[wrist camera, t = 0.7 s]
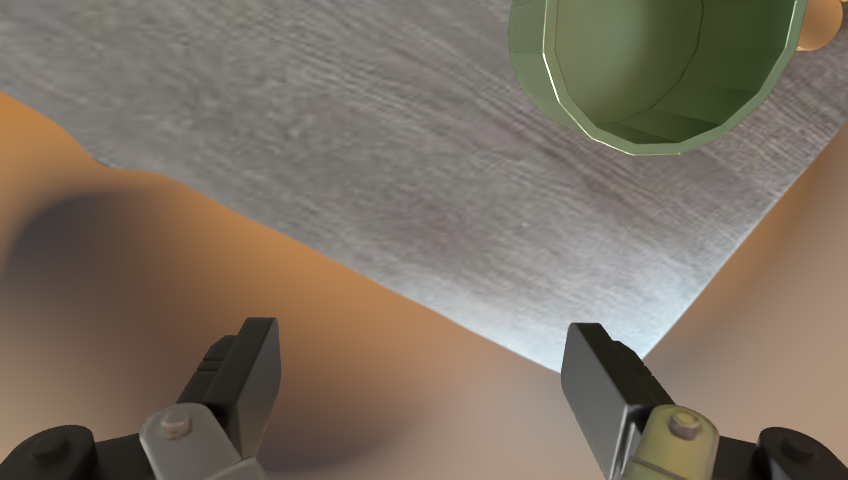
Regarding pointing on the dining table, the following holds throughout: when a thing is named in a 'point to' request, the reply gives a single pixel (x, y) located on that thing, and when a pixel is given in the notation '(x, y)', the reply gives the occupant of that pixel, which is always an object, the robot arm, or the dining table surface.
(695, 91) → the tin
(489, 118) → the dining table surface
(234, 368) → the robot arm
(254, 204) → the dining table surface
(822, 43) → the spoon
